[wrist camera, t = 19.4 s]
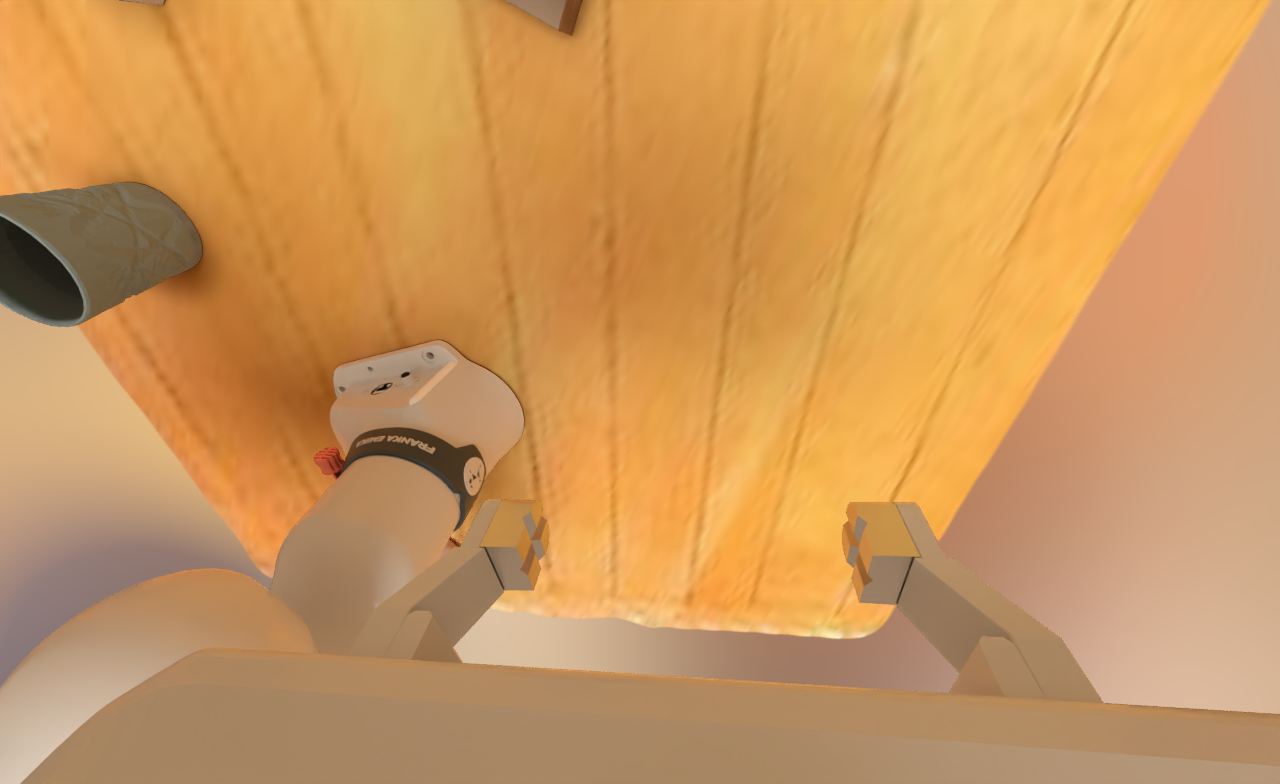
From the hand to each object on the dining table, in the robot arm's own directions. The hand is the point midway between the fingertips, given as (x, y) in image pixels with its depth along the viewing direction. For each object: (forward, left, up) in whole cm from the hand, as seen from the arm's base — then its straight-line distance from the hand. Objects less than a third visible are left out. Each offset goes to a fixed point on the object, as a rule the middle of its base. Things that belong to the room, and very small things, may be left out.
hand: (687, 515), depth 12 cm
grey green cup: (-53, +3, -33) cm, 63 cm away
